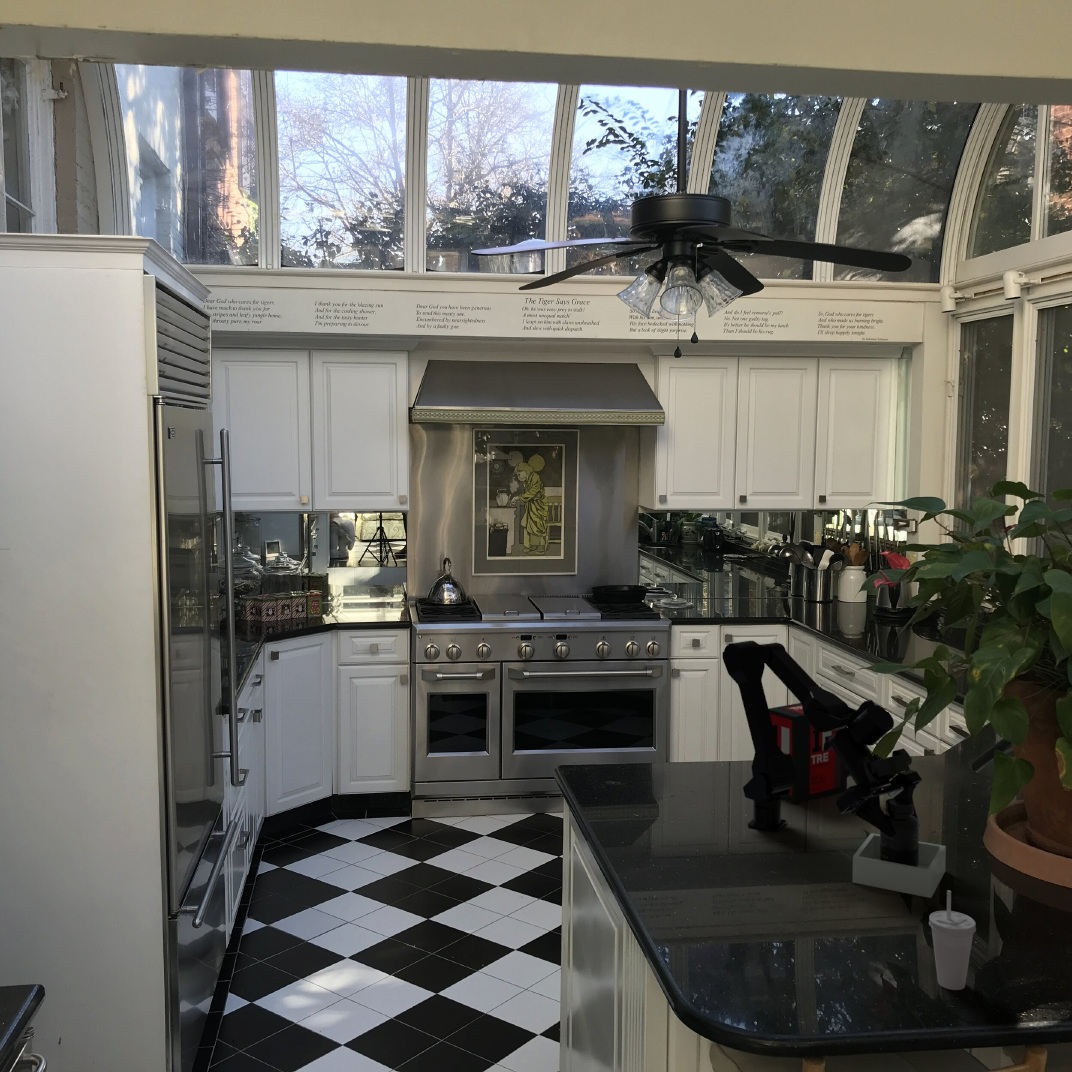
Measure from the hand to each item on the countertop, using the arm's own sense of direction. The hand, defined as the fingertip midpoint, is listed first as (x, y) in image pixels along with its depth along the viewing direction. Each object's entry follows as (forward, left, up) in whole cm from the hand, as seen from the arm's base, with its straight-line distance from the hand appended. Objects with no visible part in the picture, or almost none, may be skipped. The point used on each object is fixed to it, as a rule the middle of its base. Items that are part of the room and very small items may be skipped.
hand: (905, 832), depth 186 cm
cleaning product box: (-39, -30, -9) cm, 50 cm away
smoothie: (+36, +14, -9) cm, 39 cm away
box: (0, -1, -9) cm, 9 cm away
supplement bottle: (-1, -1, -7) cm, 7 cm away
